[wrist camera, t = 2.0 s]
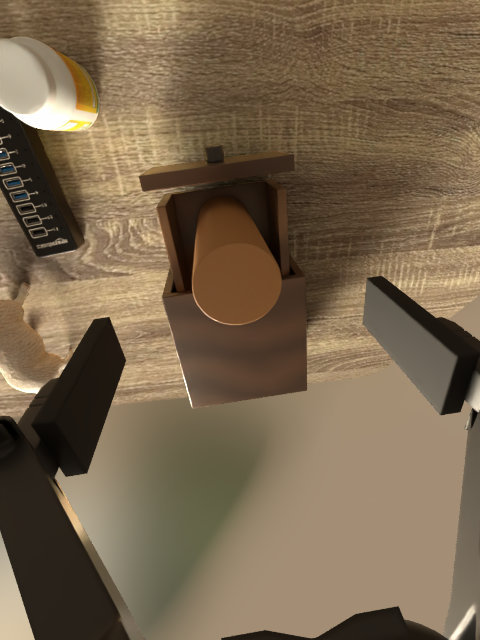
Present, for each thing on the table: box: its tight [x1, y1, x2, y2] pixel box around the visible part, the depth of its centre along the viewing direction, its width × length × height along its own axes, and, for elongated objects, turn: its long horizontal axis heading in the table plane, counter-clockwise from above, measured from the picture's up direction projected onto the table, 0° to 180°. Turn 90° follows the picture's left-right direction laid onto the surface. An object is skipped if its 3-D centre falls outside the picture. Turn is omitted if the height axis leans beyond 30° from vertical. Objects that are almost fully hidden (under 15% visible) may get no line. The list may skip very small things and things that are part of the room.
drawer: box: [139, 145, 295, 292], centre depth 31 cm, size 15×12×7 cm
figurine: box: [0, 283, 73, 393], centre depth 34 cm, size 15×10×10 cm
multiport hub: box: [0, 106, 84, 258], centre depth 30 cm, size 4×14×2 cm, turn 10°
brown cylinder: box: [192, 196, 282, 325], centre depth 26 cm, size 6×6×16 cm
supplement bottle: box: [0, 36, 100, 131], centre depth 24 cm, size 5×5×10 cm
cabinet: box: [162, 253, 307, 408], centre depth 37 cm, size 15×14×9 cm
